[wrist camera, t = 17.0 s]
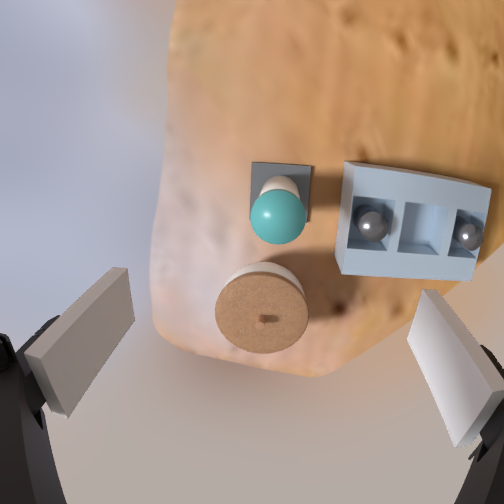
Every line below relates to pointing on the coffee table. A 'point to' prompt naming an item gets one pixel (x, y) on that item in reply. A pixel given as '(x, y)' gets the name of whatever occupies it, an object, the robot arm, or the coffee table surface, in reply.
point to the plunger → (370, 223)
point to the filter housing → (408, 223)
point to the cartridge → (278, 211)
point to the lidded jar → (262, 308)
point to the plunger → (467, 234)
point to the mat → (294, 172)
